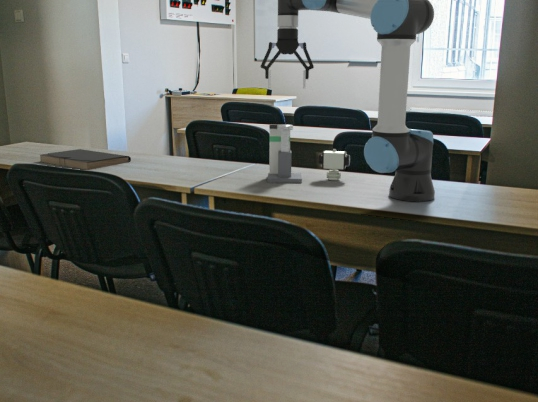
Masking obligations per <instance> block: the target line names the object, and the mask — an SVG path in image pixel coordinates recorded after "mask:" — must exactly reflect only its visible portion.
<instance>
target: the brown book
mask: <svg viewBox="0 0 538 402" xmlns="http://www.w3.org/2000/svg"><path fill="white" fill-rule="evenodd" d="M39 155H40V156H39V158H40V162H41V163H46V164H51V165H56V166H57V165H58V166H64V167H70V168H76V169H77V168H78V169H82V170H87V171H89V170H94V169H101V168H106V167H110V166H115V165H120V164H127V163H131V161H132V158H131V157H130V155H124V154H116V153H110V152H103V151H96V150H90V149H84V148H83V149H82V148H78V149H71V150H70V149H69V150H62V151H56V152H55V151H54V152H49V153H42V154H39Z"/></svg>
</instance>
